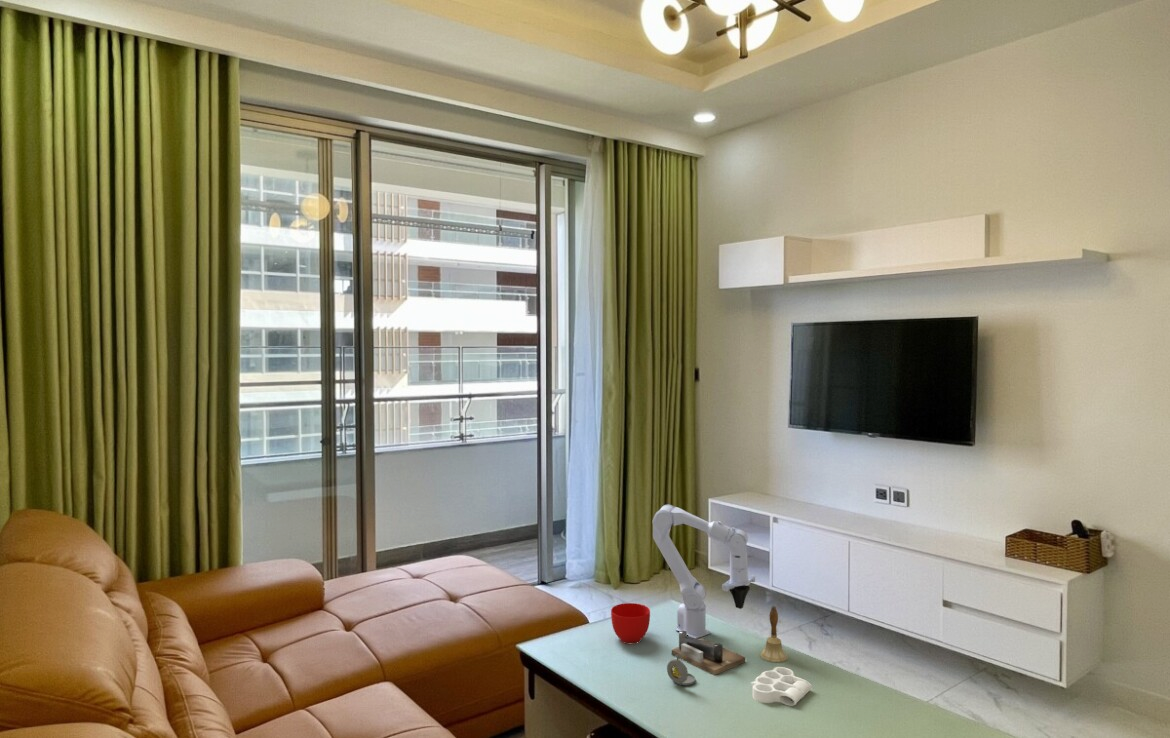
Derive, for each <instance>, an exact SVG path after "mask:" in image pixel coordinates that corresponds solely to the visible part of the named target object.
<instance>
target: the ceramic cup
mask: <svg viewBox="0 0 1170 738" xmlns="http://www.w3.org/2000/svg"><path fill="white" fill-rule="evenodd" d="M610 611H611V612H610V615H611V616H610V617H611V626H612V629H613V632H614V633H615V635H616V636H617V638H619V640H620V641H621V642H622V643H624V642H625V643H624V644H627V643H635V644H638V643H640V642H641V641H640V640H642V639H644V637H645V636H646V634H647V632H648V630H649V627H650V626H649V625H650V620H651V619H650V618H651V609H650V608H649V607H648V606H646V605H645V604H640V603H633V602H627V603H626V602H624V603H619V604H616V605H614V606H612V608H610ZM639 641H640V642H639ZM637 642H638V643H637Z"/></svg>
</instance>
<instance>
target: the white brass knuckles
mask: <svg viewBox="0 0 1170 738" xmlns="http://www.w3.org/2000/svg"><path fill="white" fill-rule="evenodd" d="M750 684H751V685H752V698H753V699H754V700H755V701H756V702H758V703H762V704H772V703H781V704H783V705H786V706H789V707H793V706H795V705H797V703H798V702H799V701H801V699H803V698H804V697H805V696H806V694H807V693H808V692H809V691H812V689H813V686H812V684H811V683H810V682H809V681H808V680H806V679H804V678H801V677H799V676H795V674H794V671H793V670H792V669H790V668H787V667H784V666H775V667H774V668H773V669H771V670H765V671H762V672H761V674H759V675H758V676H757V677H756V678H755V679H754V680H753V681H751V682H750Z"/></svg>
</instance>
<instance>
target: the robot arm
mask: <svg viewBox="0 0 1170 738" xmlns="http://www.w3.org/2000/svg"><path fill="white" fill-rule="evenodd" d="M722 522H723V521H721V520H718V521H716V520H713V521H711V522H709V521H707V520H705V519H703V518H700V517H698V516H697V515H694V514H693V513H690V512H688V511H687V510H684V509H682V508H680V507H677V506H674V505H672V504H669V503H668V504H664V505H663V506H661V507H660V509H659V510H658V511H656V512H655V514H654V515H653V518H652V522H651V523H652V539H653V541H654V542H655V545H656V546H657V548H658V550H660V553H661V555H662V556H663V558H664V561H665V562H666V564H667V566H669V568H670V570H671V572H672V574H673V576H674V578H675V579H676V581H677V583H678V584H679V590H680V594H681V595H682V598H683V599H682V600H683V602H682V603H681V604H679V605H678V608H677V611H676V612H677V615H676V617H677V618H676V619H677V620H676V622H677V623H676V624H677V625H676V627H677V628H675V631H676V630H677V631H676V632H678V631H686V632H687V635H688V636H689V637H692V638H695V639H700V638H702V637H704V636H707V635H710V634H712V631H710V630H709V629H706V628H707V627H706V625H707V624H706V619H707V616H706V614H707V613H706V612H707V611H706V607H707V606H706V604H705V602H704V600H705V598H706V596H707V591H706V588H705V586H704V585H703V584H701V583H700V582H699V581H698V580H697V578H696V577H694V576H693V575H692V573H691V571H690V570H689V568H688V566H687V565H686V562H685V561H684V559H683V558H682V556H681V554H680V552H679V551H678V549H677V547H676V545H675V544H674V542H673V539H671V537H670V533H671V532H670V531H671V530H672V529H671V528H672V526H673V527H675V526H679V525H683V524H684V525H686V526H690V527H692V528H695V529H697V530H700V531H703V532H705V533H706V534H707V536H708V538H711V539H713V540H714V541H717V542H720V543H723V544H725V545H728V546H729V549H730V550H729V579H728V580H727V581H725V582H724V583H722V584H721V591H724V592H730V593H731V596H732V598H733V601H734V605H735V608H737V609H739V610H741V609H743V608H744V606H745V601H746V598H747V595H748V593H749V591H750V586H749V585H751V583H755V582H756V576H755V575H752V574H749V575H748V570H749V569H748V553H747V552H748V549H747V543H748V540H749V537H748V534H747V533H746V531H744V530H743V529H741V528H736V527H733V526H732V527H731V526H729V525H726V524H724V523H722Z"/></svg>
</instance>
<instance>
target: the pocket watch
mask: <svg viewBox="0 0 1170 738" xmlns="http://www.w3.org/2000/svg"><path fill="white" fill-rule="evenodd" d="M674 653H675V652H673V654H674ZM676 653H678V652H676ZM678 654H680V653H678ZM678 654H677V655H675V654H674V655H675V656H674V655H673V656H674V657H675V658H673V659H671V660H669V661H668V663H667V666H666V671H667V675H668V677H669V678H670V679H671V680H672V682H674V684H677V685H680V686H689V685H692V684H694V683H695V682H696V677H695V675H693V674H692V673H689V671H688V669H687V666H686V664H685V663H684V662H683V661H681V660H680V658H679V657H681V654H680V656H678Z"/></svg>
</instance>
